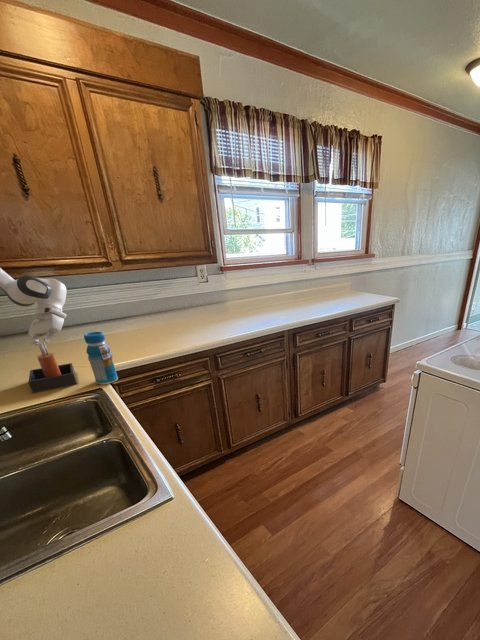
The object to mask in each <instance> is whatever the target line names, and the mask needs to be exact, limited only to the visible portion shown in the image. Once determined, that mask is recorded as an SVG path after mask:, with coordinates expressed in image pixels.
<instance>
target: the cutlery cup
mask: <svg viewBox="0 0 480 640" xmlns="http://www.w3.org/2000/svg"><path fill="white" fill-rule="evenodd" d="M37 346H38V347H39V351H40V353H41V354H39V355H37V356H36V358H37V361H38V363H39V365H40V366H39V367H40V368H42V371H43V373H44V376H45V378H49V377H54V376H60V375H62V374H61V372H60V369H59V366H58V365H59V363H58V361H57V358H56V355H55V353H54V352H49V350H48V347H47V343H45V342H44V341H42V342H40V341H38V345H37Z"/></svg>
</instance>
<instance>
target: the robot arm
mask: <svg viewBox="0 0 480 640" xmlns="http://www.w3.org/2000/svg"><path fill="white" fill-rule="evenodd" d="M0 289H1V290H2V291H3V292H4V294H5V295H6V297H7V298H8V299H9V300H10V302H12V303H13V304H15V305H17V306H20V307H32V306H33V305H35V303H37V307H36V309H35V314H34V315H35V317H37V318H35V319H33V321H31V324H30V326H29V328H28V329H29V330H28V332H27V333H28V336H30V337H32V343H31V344H32V346H35V347H37V346H39V345H38V341H39V340H40V338H42V337H44V339H43V342H45V344H49V343H50V342H51V340H52V339H53V337H54V335H55V334H58V333H60V332H61V330H62V328H63V325H64V323H65V319H66V318H67V313H64V312H63V311H64V310H63V307H64V306H65V304H66V299H67V291H68V290H67V287H66V285H65V284H64V283H63V282H61V281H60V280H58V279H56V278H54V277H53V278H52V277H48V278H43V277H42V278H41V277H35V276H33V275H28V274H25V275H21V276H19V277H18V278H17V279H14V278H13V277H12V276H11V275H10V274H8V273H7V272H6V271H5V270H4V269H2V267H0ZM39 342H40V341H39Z"/></svg>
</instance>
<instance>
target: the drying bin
mask: <svg viewBox="0 0 480 640" xmlns="http://www.w3.org/2000/svg"><path fill="white" fill-rule="evenodd" d="M58 366H59V369H60V372H61V374H62V375H60V376H54V377H49V378H45V376H44V373H43V371H42V368H41V367H40V368H35V369H30V371H29V375H28V381H27V382H28V384H29V387H30V390H31V392H32V393H39V392H43V391H49V390H53V389H59V388H64V387H69V386H74V385H78V381H77V374H76V370H75V368H74V365H73V363H72V362H70V363H64V364H58Z"/></svg>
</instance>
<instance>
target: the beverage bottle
mask: <svg viewBox="0 0 480 640" xmlns="http://www.w3.org/2000/svg"><path fill="white" fill-rule="evenodd" d="M83 339H84V342H85V343H86V344H87V346H86V354H87V355H88V356H87V360H88V361H89V363H90V367H91V370H92V373H93V376H94V380H95V383H96V384H98V385H109V384H113V383H115V382H117V381H118V380H119V376H118V373H117V370H116V366H115V362H114V359H113V354H112V352H111V348H110V346H109V345H108V344H107V343H106V337H105V334H104V332H102V331H91V332H88V333H85V334H83Z"/></svg>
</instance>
